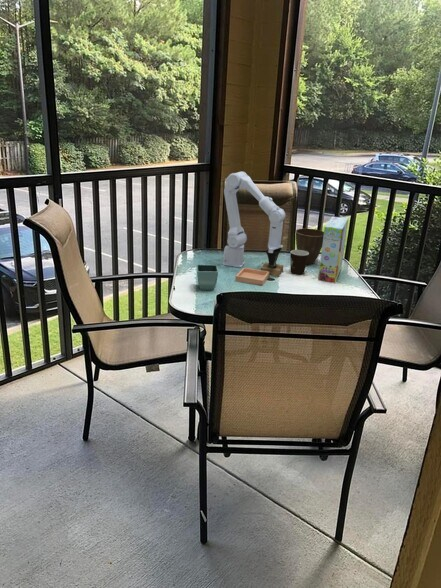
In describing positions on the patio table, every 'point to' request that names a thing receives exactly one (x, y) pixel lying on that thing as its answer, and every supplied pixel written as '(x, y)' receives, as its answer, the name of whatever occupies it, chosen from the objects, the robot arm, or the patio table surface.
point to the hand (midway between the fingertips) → (272, 263)
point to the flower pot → (207, 276)
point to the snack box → (333, 249)
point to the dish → (252, 276)
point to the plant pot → (309, 243)
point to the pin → (273, 265)
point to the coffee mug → (298, 261)
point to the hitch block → (273, 269)
